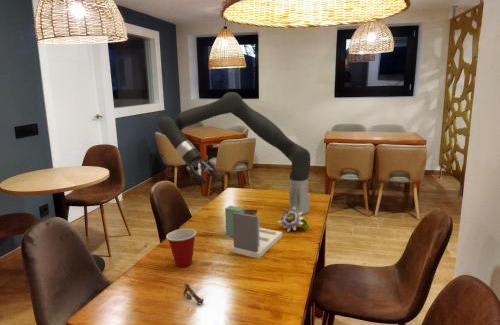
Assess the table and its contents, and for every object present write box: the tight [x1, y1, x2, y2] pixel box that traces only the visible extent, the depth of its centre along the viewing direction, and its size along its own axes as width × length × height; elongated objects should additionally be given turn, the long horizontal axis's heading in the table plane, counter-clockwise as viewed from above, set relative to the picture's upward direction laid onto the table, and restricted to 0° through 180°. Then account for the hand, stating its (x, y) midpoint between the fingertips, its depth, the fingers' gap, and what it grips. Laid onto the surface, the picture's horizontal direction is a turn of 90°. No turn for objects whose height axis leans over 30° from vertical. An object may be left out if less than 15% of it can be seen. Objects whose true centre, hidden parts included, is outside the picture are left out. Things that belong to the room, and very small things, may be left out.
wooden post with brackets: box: [182, 282, 204, 306], centre depth 110 cm, size 2×8×4 cm, turn 50°
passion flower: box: [277, 207, 310, 233], centre depth 161 cm, size 11×11×12 cm
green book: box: [224, 205, 245, 237], centre depth 155 cm, size 4×7×12 cm, turn 62°
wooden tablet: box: [244, 209, 258, 216], centre depth 175 cm, size 26×2×10 cm
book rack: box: [230, 212, 283, 259], centre depth 145 cm, size 22×12×16 cm, turn 152°
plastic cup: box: [165, 228, 197, 268], centre depth 131 cm, size 11×11×12 cm
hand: (211, 181), depth 157 cm, fingers open, 8 cm apart
